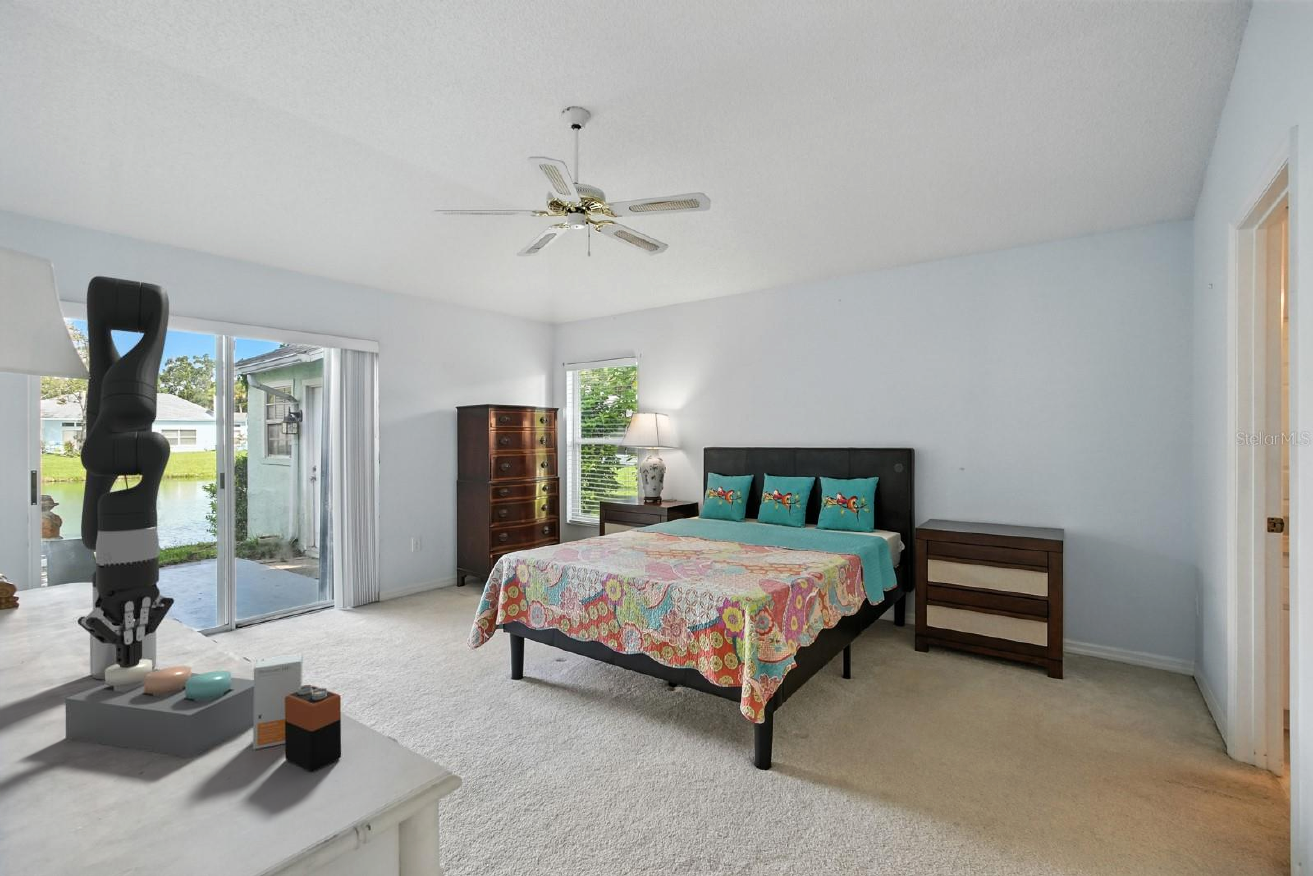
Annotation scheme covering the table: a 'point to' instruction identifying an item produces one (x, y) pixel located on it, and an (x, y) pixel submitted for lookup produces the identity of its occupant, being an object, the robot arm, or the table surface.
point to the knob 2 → (208, 685)
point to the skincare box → (274, 696)
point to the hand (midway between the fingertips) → (129, 665)
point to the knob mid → (166, 681)
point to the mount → (159, 718)
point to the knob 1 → (127, 675)
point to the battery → (312, 727)
